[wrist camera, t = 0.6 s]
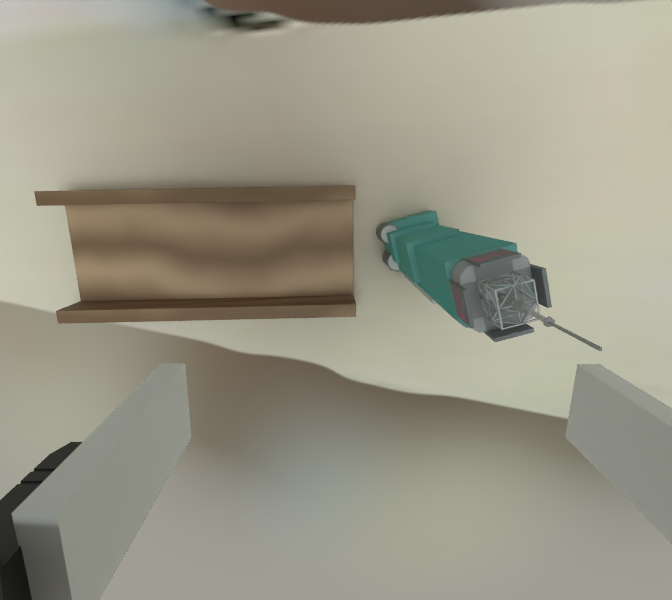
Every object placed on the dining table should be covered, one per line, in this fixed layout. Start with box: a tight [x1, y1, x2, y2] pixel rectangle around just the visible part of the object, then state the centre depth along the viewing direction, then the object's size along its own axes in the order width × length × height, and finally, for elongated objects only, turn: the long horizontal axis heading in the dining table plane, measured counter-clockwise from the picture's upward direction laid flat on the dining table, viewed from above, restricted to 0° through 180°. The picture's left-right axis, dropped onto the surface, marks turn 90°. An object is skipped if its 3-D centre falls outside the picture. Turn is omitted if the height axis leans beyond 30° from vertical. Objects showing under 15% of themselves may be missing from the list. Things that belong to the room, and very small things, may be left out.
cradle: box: [34, 186, 356, 323], centre depth 40 cm, size 12×28×6 cm, turn 91°
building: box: [376, 211, 602, 351], centre depth 28 cm, size 6×6×30 cm
